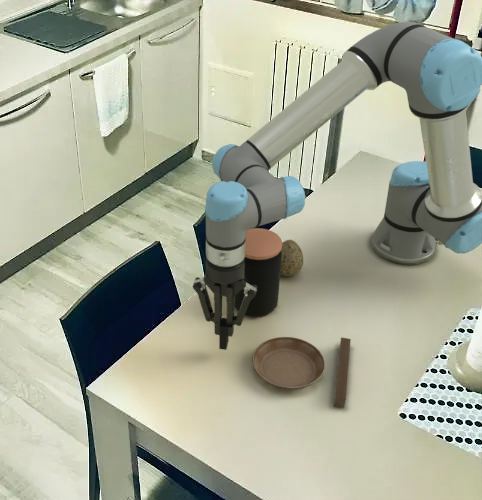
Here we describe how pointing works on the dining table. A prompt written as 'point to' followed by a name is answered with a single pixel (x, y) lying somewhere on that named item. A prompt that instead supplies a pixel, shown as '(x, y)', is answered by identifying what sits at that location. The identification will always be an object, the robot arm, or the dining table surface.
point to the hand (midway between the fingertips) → (223, 344)
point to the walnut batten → (342, 373)
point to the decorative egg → (291, 258)
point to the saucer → (288, 362)
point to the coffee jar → (261, 271)
